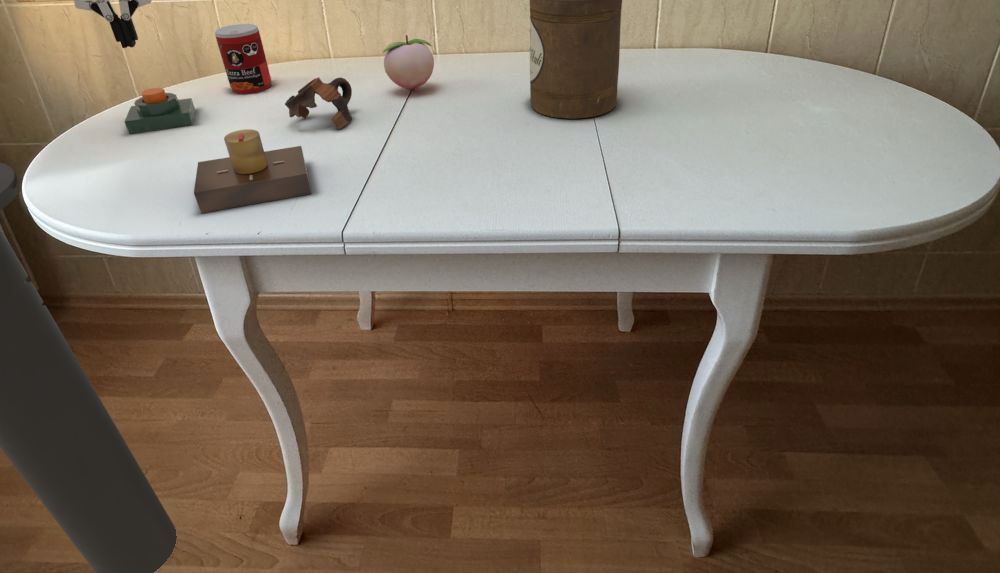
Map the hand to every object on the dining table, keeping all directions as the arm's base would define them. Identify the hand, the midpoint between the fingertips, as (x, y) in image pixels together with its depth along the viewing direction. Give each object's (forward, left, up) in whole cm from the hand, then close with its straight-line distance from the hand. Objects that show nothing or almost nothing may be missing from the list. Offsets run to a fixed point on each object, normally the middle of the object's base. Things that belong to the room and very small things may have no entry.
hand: (129, 45), depth 100 cm
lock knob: (+16, -33, -10) cm, 38 cm away
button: (+1, +1, -9) cm, 9 cm away
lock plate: (+16, -33, -13) cm, 39 cm away
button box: (+1, +1, -13) cm, 13 cm away
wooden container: (+69, -21, -13) cm, 73 cm away
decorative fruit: (+45, -2, -13) cm, 47 cm away
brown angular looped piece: (+28, -11, -13) cm, 33 cm away
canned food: (+16, +14, -13) cm, 25 cm away
